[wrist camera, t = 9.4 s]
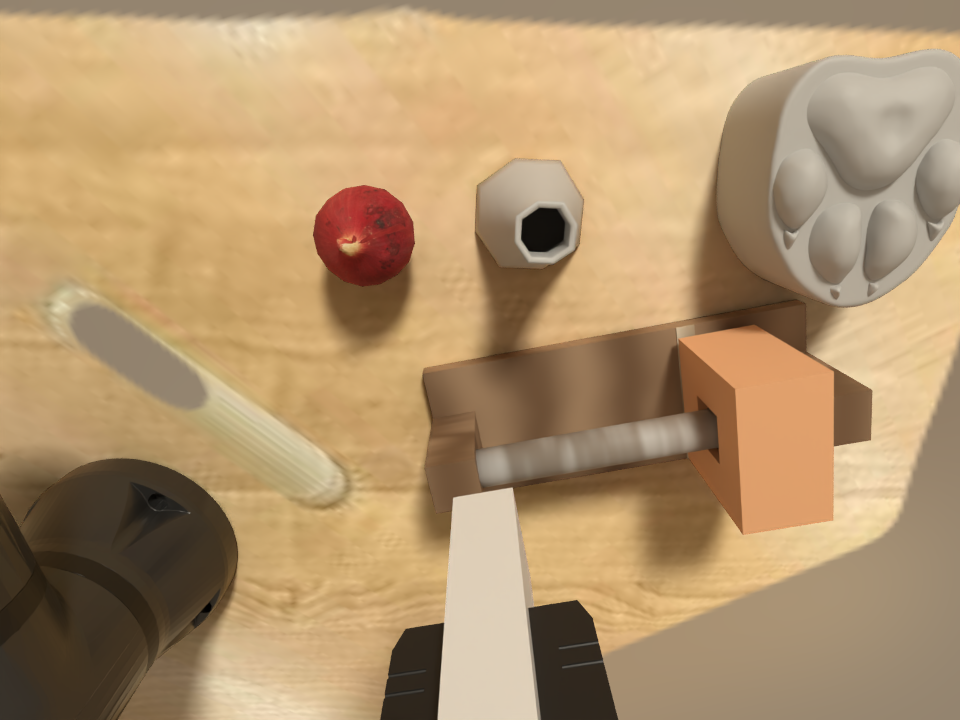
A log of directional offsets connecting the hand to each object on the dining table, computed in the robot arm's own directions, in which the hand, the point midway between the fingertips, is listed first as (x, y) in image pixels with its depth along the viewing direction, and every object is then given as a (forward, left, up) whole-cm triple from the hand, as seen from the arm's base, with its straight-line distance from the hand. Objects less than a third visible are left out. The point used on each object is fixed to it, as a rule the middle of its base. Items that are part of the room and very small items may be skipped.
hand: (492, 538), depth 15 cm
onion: (-6, +6, -27) cm, 28 cm away
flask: (+4, +5, -27) cm, 27 cm away
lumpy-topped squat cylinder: (+21, +4, -27) cm, 34 cm away
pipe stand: (+8, -9, -26) cm, 29 cm away
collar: (+15, -9, -24) cm, 30 cm away
